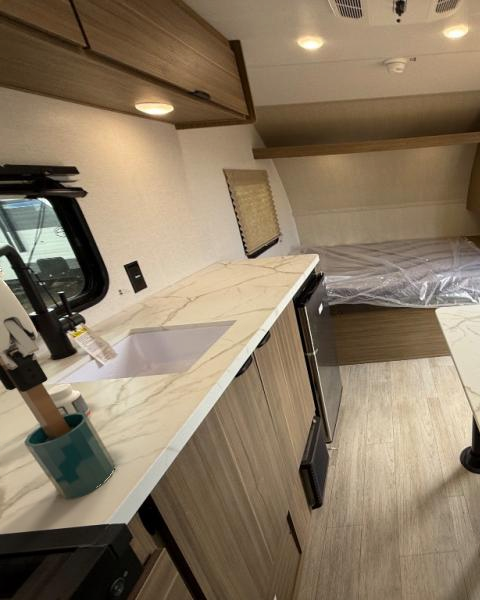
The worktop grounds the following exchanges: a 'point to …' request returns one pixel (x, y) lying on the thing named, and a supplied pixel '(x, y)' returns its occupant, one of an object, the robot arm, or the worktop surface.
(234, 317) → the worktop surface
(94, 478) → the teal handleless cup
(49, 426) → the brush
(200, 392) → the worktop surface
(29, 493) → the worktop surface
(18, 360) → the robot arm
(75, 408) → the pill bottle
